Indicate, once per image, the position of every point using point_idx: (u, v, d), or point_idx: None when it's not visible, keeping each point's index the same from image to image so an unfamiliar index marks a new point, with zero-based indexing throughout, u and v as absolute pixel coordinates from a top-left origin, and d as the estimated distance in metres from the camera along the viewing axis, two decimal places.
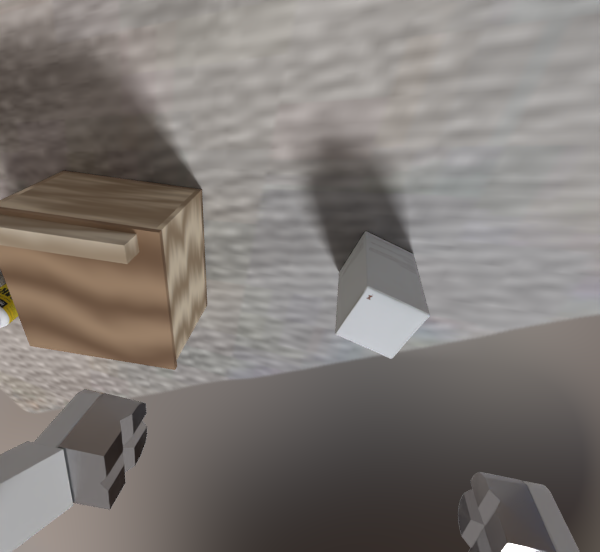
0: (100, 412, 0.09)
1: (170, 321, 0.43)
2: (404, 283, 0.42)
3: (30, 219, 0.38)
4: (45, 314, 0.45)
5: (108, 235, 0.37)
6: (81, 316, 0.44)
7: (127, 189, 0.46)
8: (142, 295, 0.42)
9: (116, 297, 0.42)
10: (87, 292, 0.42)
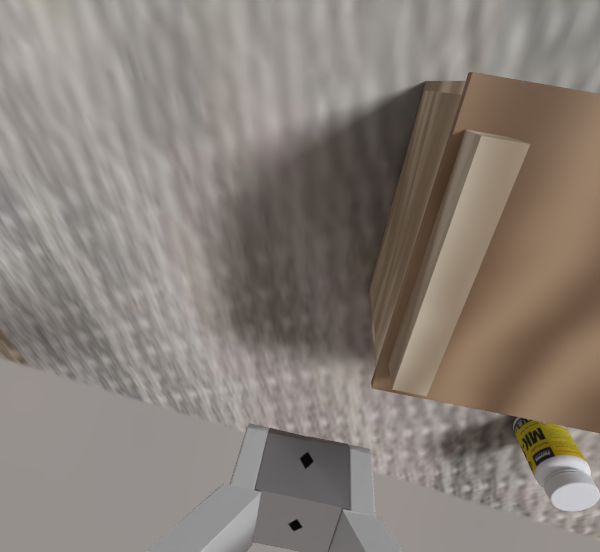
0: (277, 449, 0.08)
1: None
2: None
3: (402, 321, 0.23)
4: (597, 386, 0.23)
5: (454, 182, 0.18)
6: None
7: (400, 198, 0.30)
8: None
9: None
10: (573, 287, 0.21)
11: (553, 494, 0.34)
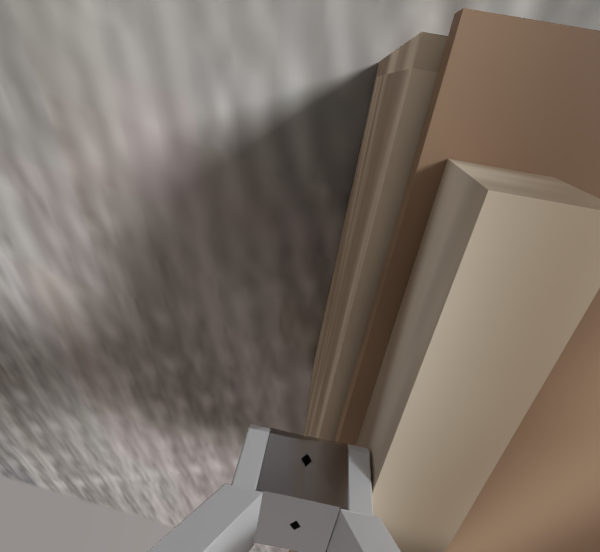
0: (278, 450, 0.08)
1: None
2: None
3: None
4: None
5: (421, 288, 0.07)
6: None
7: (342, 246, 0.19)
8: None
9: None
10: None
11: None
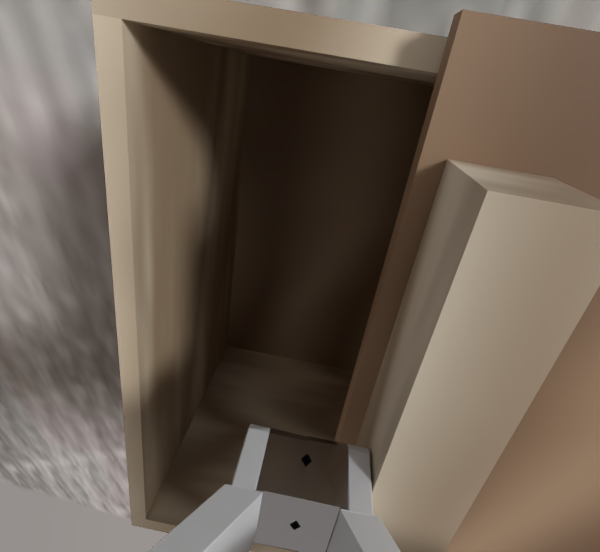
0: (279, 450, 0.08)
1: None
2: None
3: None
4: None
5: (420, 288, 0.07)
6: None
7: None
8: None
9: None
10: None
11: None
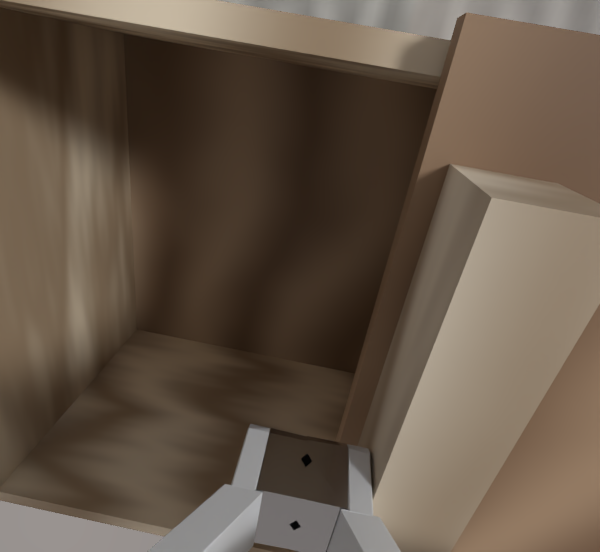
0: (278, 450, 0.08)
1: None
2: None
3: None
4: None
5: (422, 294, 0.07)
6: None
7: None
8: None
9: None
10: None
11: None
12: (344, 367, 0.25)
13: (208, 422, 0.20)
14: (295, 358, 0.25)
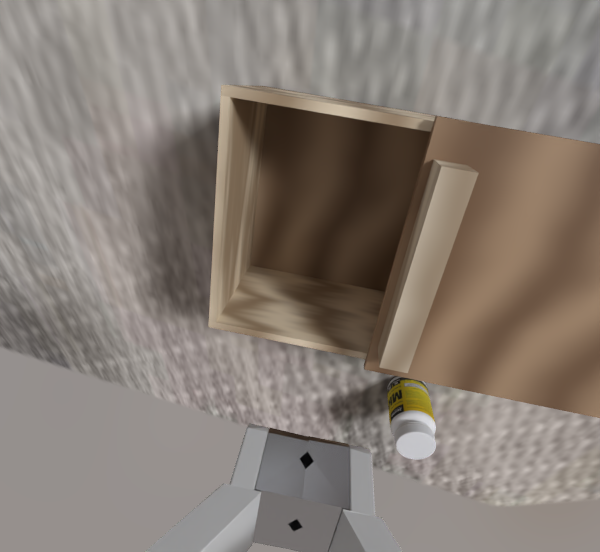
0: (277, 449, 0.08)
1: None
2: None
3: (388, 311, 0.28)
4: (551, 368, 0.28)
5: (425, 200, 0.23)
6: (572, 313, 0.26)
7: None
8: (557, 187, 0.23)
9: (548, 239, 0.24)
10: (526, 284, 0.26)
11: (397, 443, 0.39)
12: (378, 287, 0.41)
13: (306, 306, 0.36)
14: (348, 282, 0.41)
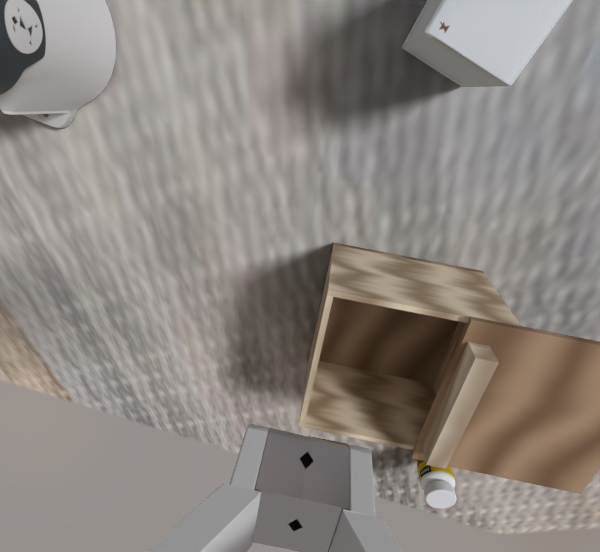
0: (277, 449, 0.08)
1: (596, 343, 0.34)
2: None
3: (432, 425, 0.40)
4: (543, 461, 0.41)
5: (462, 368, 0.36)
6: (556, 430, 0.39)
7: (319, 312, 0.48)
8: (547, 360, 0.35)
9: (541, 388, 0.37)
10: (526, 412, 0.38)
11: (427, 497, 0.52)
12: (412, 377, 0.53)
13: (363, 401, 0.48)
14: (389, 373, 0.53)
